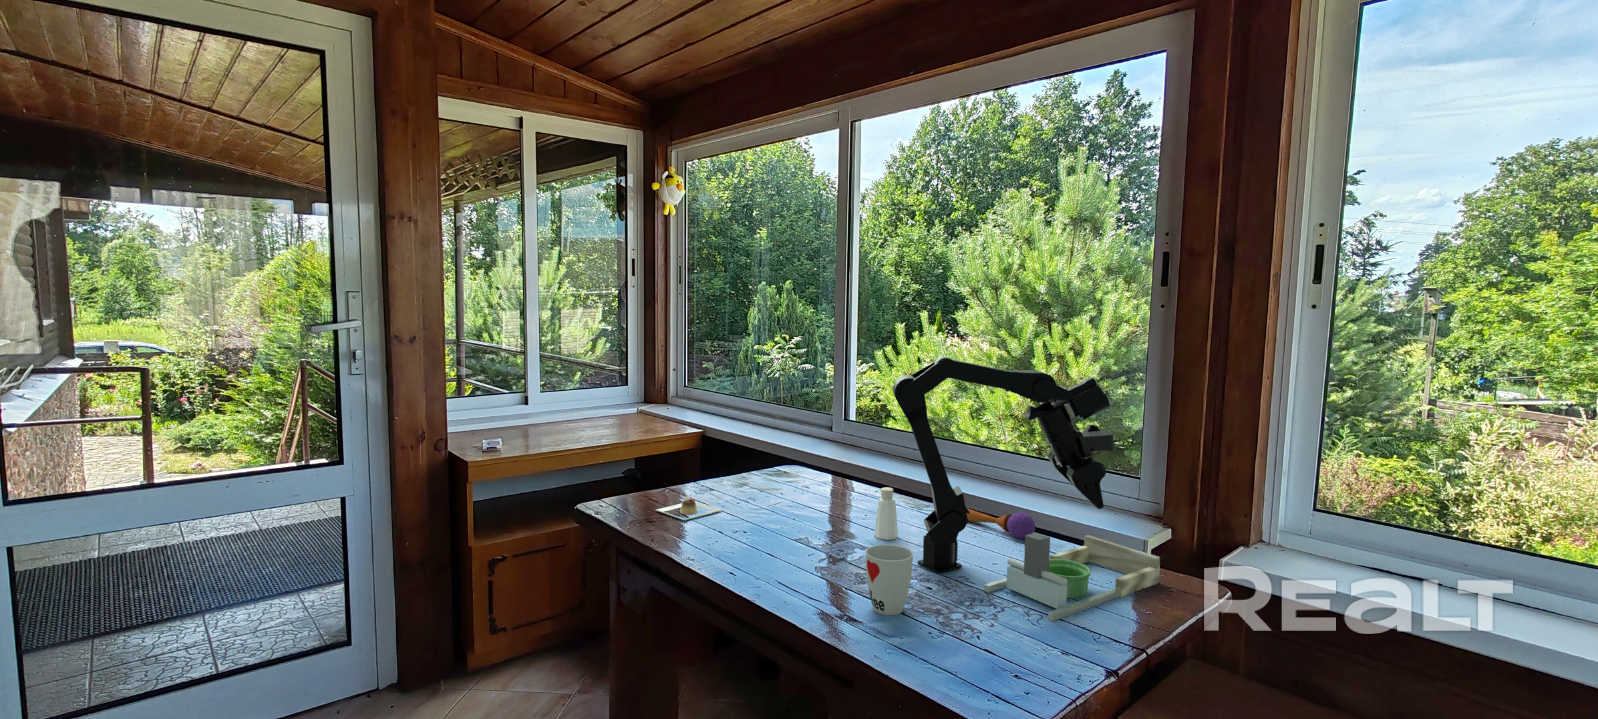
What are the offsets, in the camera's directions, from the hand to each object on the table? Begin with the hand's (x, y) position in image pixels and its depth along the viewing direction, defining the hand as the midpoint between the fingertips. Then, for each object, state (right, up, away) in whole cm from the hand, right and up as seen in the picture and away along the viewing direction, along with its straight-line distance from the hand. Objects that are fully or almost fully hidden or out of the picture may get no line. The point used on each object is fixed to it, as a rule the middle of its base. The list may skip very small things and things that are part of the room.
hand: (1093, 501), depth 140 cm
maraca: (-12, -13, +27) cm, 32 cm away
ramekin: (-9, -15, -8) cm, 19 cm away
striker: (-16, -15, -12) cm, 25 cm away
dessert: (-86, -11, +40) cm, 95 cm away
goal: (-7, -15, -7) cm, 18 cm away
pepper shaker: (-38, -12, +22) cm, 46 cm away
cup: (-42, -15, -17) cm, 48 cm away
